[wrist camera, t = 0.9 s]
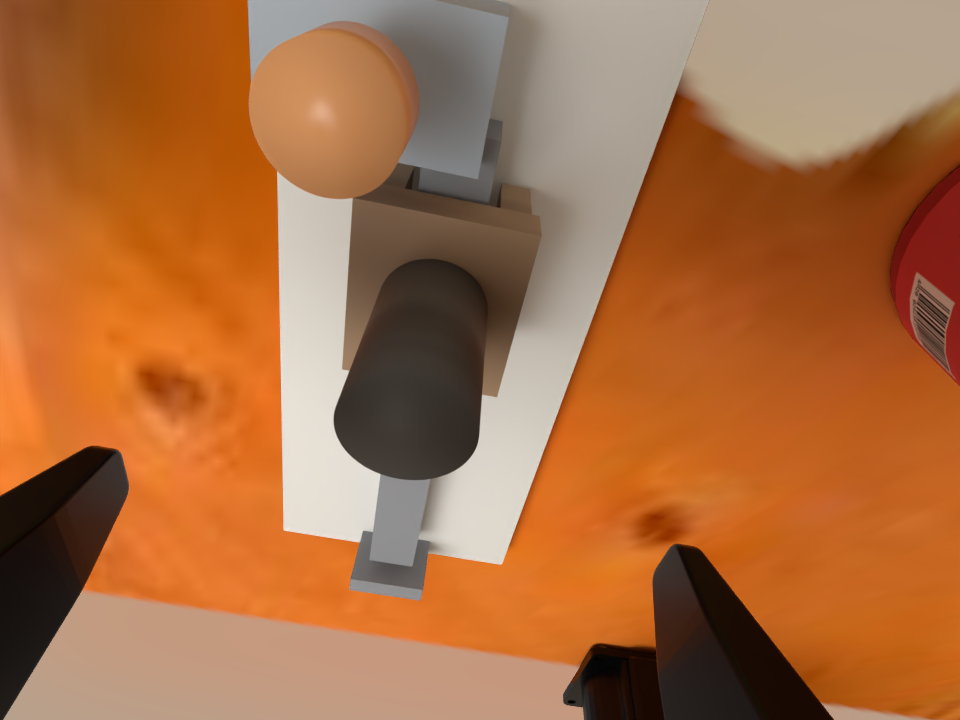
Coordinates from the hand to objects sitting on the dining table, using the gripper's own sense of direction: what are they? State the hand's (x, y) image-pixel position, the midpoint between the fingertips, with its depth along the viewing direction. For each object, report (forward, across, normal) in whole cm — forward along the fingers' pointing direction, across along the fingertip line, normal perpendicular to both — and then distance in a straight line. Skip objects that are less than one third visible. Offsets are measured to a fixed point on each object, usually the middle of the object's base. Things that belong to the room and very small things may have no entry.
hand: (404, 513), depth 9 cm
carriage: (+10, 0, 0) cm, 10 cm away
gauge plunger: (+5, +2, -5) cm, 8 cm away
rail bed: (+11, 0, +4) cm, 11 cm away
